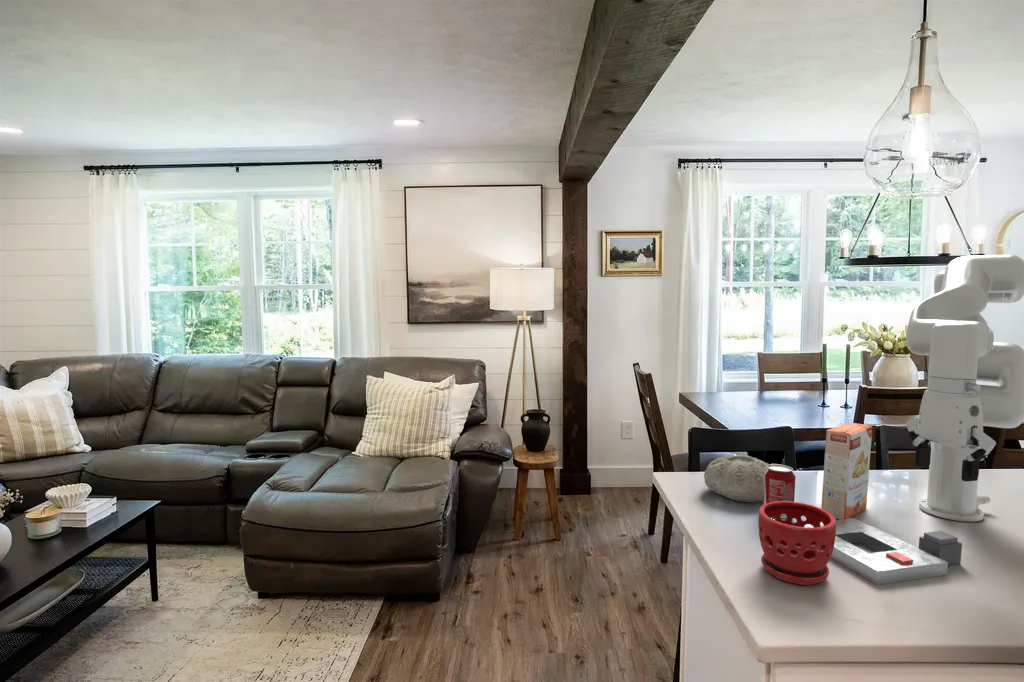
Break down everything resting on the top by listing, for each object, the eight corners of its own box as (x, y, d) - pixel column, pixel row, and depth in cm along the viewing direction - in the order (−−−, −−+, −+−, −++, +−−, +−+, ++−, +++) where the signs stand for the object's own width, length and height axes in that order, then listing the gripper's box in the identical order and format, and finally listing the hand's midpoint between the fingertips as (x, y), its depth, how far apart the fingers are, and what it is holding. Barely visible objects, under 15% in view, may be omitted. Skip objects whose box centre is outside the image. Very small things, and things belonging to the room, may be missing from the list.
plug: (939, 555, 120) (941, 529, 120) (960, 565, 116) (962, 538, 115) (917, 558, 119) (919, 532, 118) (938, 568, 114) (940, 541, 114)
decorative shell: (728, 511, 143) (730, 470, 142) (690, 487, 161) (691, 451, 160) (792, 505, 148) (793, 466, 147) (747, 482, 165) (749, 447, 164)
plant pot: (746, 557, 118) (748, 499, 117) (812, 559, 118) (815, 500, 117) (772, 591, 105) (775, 525, 104) (847, 592, 105) (851, 527, 104)
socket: (853, 529, 133) (854, 515, 132) (946, 574, 111) (948, 559, 111) (792, 535, 129) (793, 522, 129) (877, 584, 108) (878, 568, 107)
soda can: (796, 523, 136) (799, 472, 135) (765, 521, 137) (767, 470, 136) (789, 513, 142) (791, 464, 141) (759, 510, 144) (761, 462, 142)
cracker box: (847, 523, 136) (852, 434, 134) (819, 515, 141) (824, 429, 139) (868, 508, 145) (873, 425, 143) (842, 502, 150) (846, 420, 148)
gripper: (1013, 393, 107) (1006, 485, 108) (925, 379, 123) (920, 459, 125) (981, 394, 105) (973, 488, 106) (896, 380, 122) (891, 461, 123)
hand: (944, 472), depth 116 cm, fingers open, 9 cm apart
